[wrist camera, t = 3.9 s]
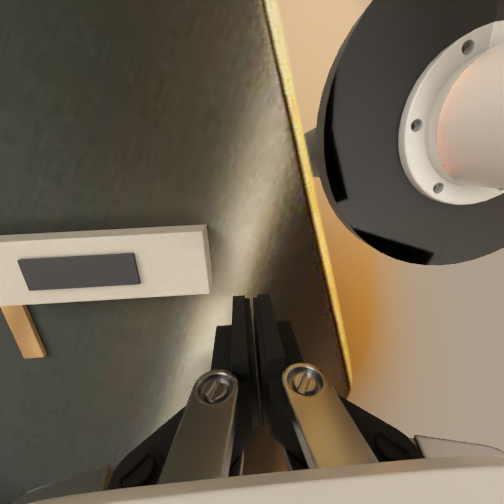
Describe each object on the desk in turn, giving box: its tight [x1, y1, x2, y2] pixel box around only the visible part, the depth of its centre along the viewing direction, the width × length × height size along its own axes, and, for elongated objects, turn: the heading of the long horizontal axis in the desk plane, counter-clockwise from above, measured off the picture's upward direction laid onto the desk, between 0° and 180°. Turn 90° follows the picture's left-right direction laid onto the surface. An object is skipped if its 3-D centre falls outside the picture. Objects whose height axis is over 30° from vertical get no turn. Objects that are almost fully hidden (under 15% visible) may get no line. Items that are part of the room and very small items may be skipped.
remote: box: [0, 224, 213, 306], centre depth 18 cm, size 16×5×2 cm, turn 92°
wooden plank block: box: [0, 305, 47, 358], centre depth 21 cm, size 2×6×1 cm, turn 3°
